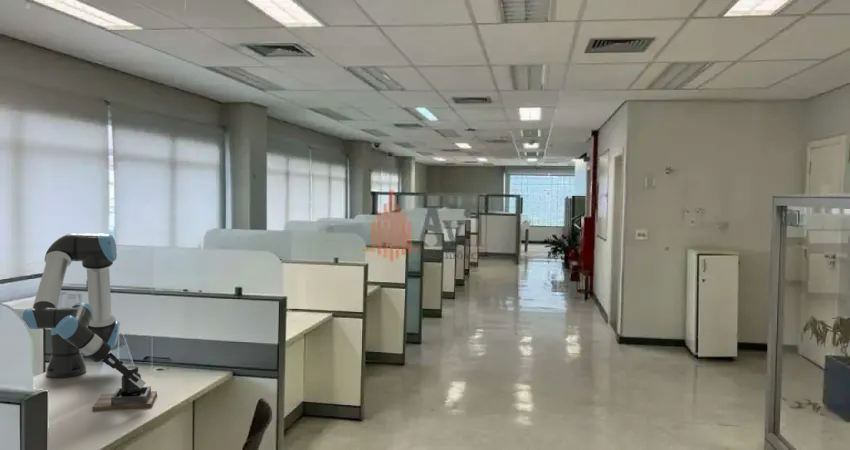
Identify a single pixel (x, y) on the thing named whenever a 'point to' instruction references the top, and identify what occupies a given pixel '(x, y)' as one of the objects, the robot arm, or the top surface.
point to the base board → (125, 400)
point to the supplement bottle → (130, 384)
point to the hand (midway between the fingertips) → (137, 381)
